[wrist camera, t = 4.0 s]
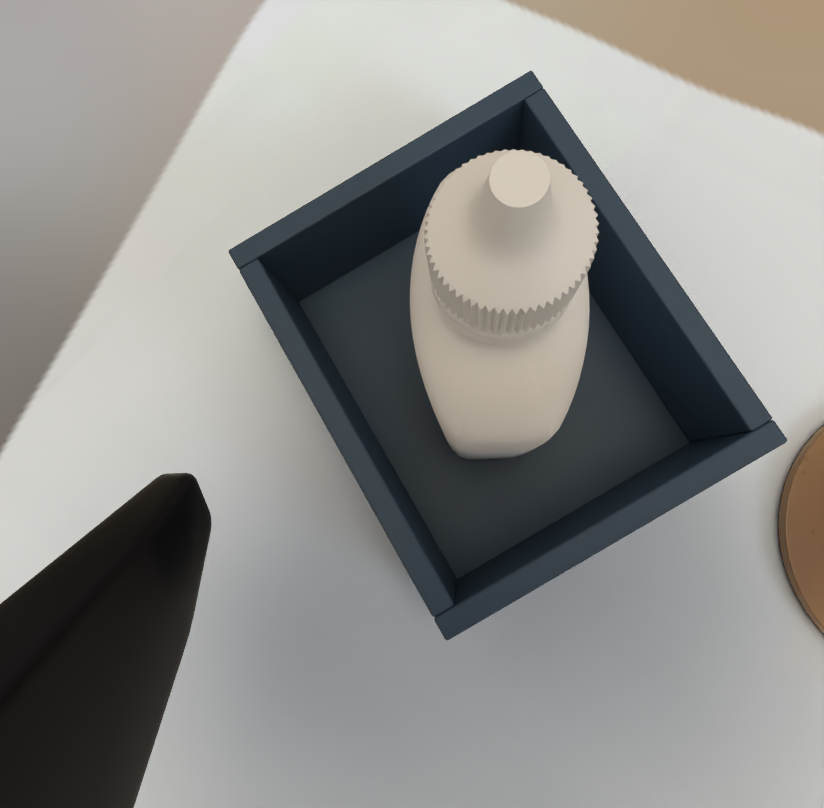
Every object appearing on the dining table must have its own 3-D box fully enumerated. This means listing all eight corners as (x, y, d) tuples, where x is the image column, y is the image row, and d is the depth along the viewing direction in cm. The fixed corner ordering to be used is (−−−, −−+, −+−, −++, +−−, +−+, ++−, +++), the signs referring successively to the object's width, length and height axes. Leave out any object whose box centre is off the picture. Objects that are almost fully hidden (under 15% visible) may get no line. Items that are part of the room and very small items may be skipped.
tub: (716, 450, 18) (789, 440, 14) (450, 606, 18) (446, 642, 14) (517, 154, 20) (531, 68, 16) (276, 297, 20) (227, 250, 16)
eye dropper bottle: (590, 321, 19) (804, 45, 7) (508, 483, 18) (585, 485, 7) (464, 261, 19) (461, -86, 8) (382, 417, 19) (241, 309, 7)
